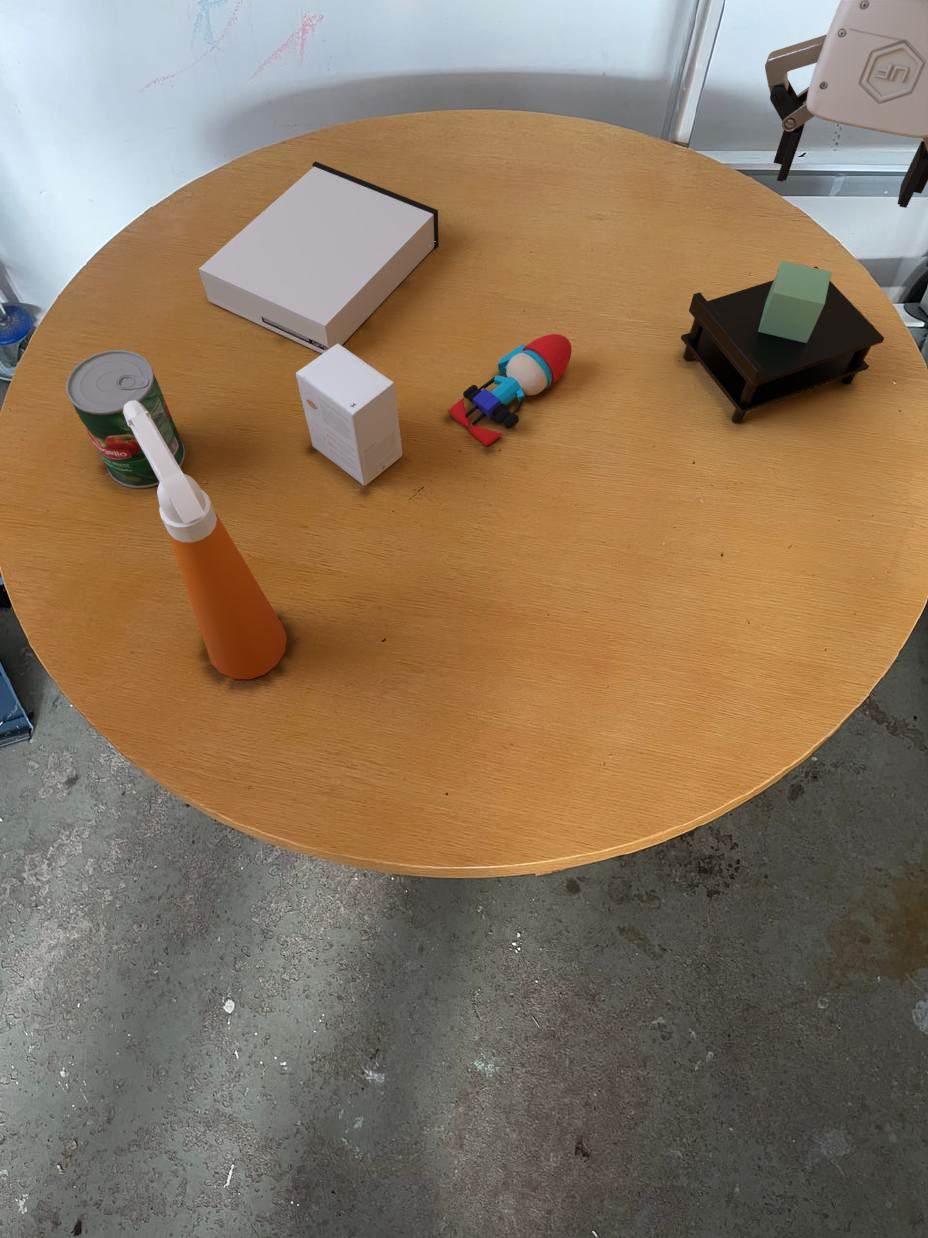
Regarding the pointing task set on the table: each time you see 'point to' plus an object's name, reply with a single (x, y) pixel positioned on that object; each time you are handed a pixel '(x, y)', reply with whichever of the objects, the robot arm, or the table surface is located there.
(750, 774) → the table surface
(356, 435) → the small box
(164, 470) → the spray bottle
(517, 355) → the toy figure
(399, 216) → the disc drive
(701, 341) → the plate
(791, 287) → the cube
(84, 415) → the canned tomato
